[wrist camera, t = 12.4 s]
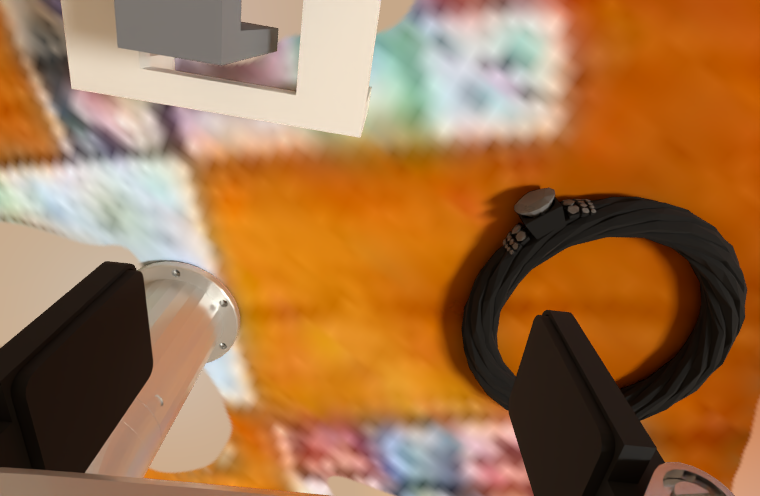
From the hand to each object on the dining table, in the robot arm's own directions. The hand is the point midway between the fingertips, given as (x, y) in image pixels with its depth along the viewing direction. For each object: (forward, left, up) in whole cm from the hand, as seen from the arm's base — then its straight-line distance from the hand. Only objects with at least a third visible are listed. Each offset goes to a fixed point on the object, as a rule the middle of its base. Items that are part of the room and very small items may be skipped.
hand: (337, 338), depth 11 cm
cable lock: (-16, -25, -33) cm, 44 cm away
